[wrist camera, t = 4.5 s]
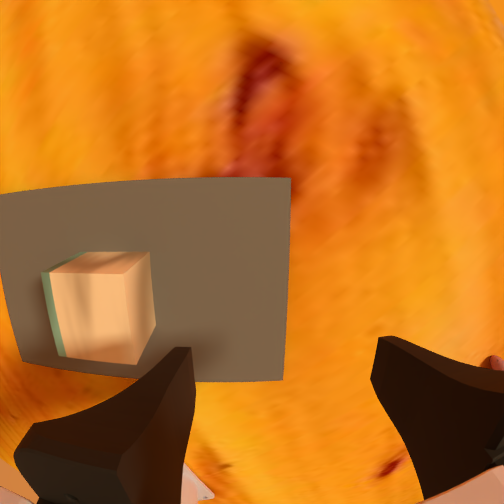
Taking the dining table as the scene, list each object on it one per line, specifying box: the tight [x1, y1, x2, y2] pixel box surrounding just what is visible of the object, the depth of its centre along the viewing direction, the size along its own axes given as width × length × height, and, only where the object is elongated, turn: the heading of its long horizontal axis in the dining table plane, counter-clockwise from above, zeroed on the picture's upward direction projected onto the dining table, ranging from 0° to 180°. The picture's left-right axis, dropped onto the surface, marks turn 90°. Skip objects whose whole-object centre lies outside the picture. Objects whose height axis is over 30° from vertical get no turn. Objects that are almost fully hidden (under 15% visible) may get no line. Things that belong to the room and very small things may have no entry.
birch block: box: [41, 252, 156, 365], centre depth 17 cm, size 5×5×5 cm
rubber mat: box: [0, 177, 291, 382], centre depth 19 cm, size 22×14×1 cm, turn 90°
